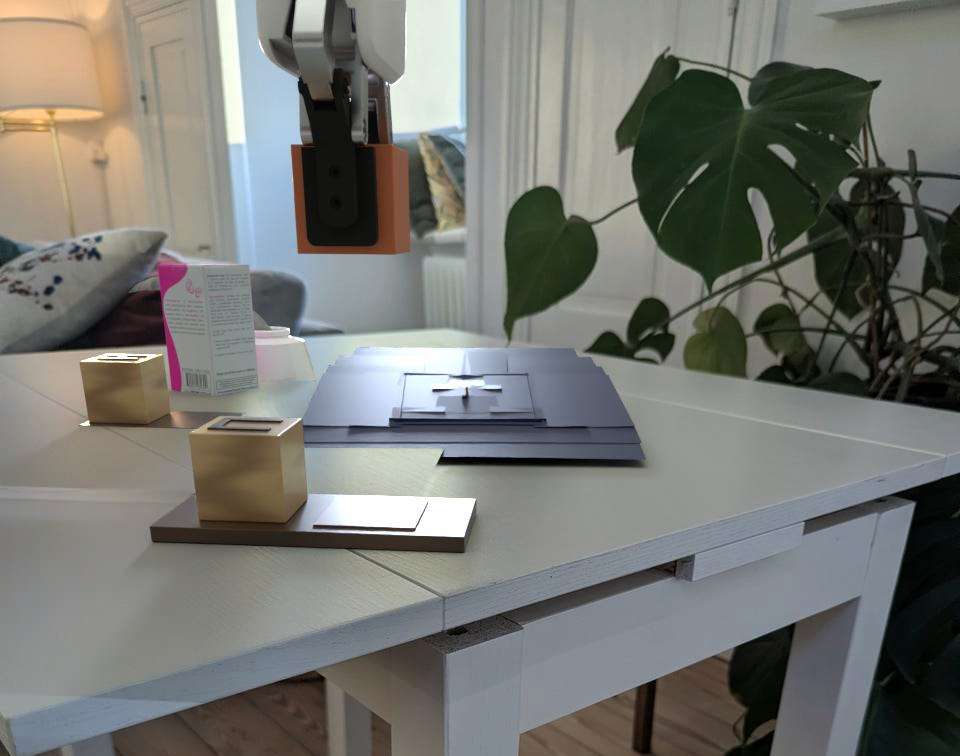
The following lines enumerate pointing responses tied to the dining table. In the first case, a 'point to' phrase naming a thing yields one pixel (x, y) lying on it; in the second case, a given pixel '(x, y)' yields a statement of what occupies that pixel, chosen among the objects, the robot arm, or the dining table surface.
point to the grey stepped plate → (471, 404)
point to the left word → (134, 394)
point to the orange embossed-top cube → (389, 202)
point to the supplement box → (209, 327)
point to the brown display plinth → (296, 498)
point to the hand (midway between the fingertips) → (355, 240)
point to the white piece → (268, 348)
